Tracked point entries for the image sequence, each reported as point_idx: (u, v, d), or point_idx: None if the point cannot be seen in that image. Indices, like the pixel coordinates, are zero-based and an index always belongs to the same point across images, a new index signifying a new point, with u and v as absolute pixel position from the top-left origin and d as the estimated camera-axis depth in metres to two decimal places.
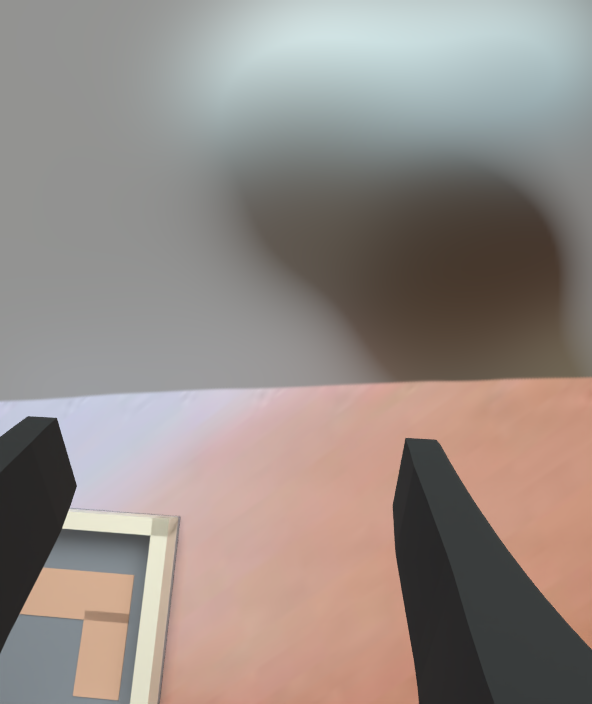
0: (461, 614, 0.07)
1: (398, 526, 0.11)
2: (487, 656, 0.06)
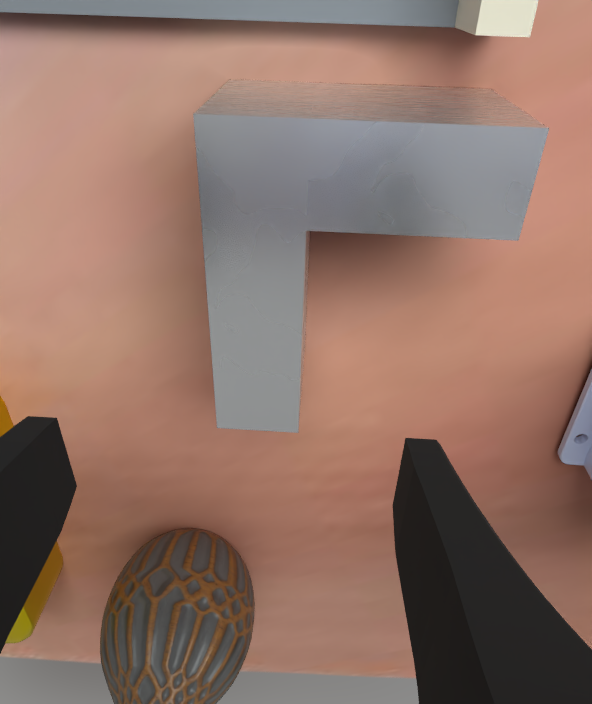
0: (461, 613, 0.07)
1: (398, 526, 0.11)
2: (487, 656, 0.06)
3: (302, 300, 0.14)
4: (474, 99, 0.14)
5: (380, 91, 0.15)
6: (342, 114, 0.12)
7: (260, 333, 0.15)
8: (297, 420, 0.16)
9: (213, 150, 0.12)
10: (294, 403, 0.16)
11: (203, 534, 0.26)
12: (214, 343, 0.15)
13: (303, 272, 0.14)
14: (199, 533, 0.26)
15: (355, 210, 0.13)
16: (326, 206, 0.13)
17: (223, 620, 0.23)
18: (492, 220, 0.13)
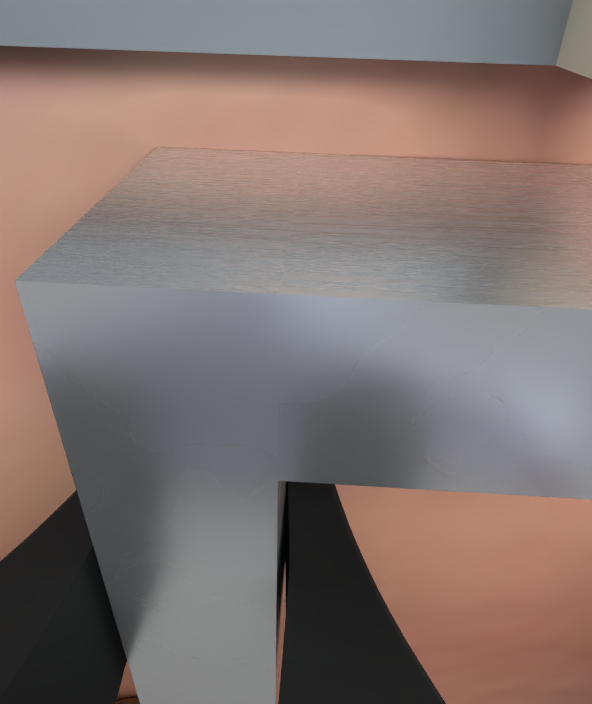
0: (286, 602, 0.07)
1: None
2: (292, 642, 0.06)
3: (275, 573, 0.08)
4: None
5: (417, 178, 0.08)
6: (352, 271, 0.05)
7: (202, 613, 0.08)
8: None
9: (71, 348, 0.06)
10: (267, 691, 0.09)
11: None
12: (122, 622, 0.08)
13: (275, 538, 0.07)
14: None
15: (378, 452, 0.06)
16: (318, 445, 0.06)
17: None
18: None
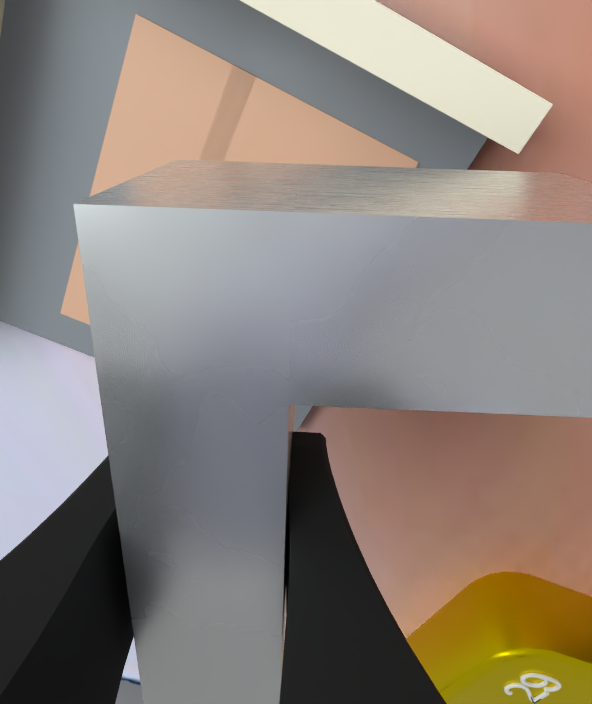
0: (288, 602, 0.07)
1: None
2: (293, 642, 0.06)
3: (284, 515, 0.08)
4: (552, 185, 0.09)
5: (401, 174, 0.10)
6: (352, 205, 0.07)
7: (212, 567, 0.08)
8: (278, 695, 0.10)
9: (114, 268, 0.06)
10: (273, 670, 0.09)
11: None
12: (132, 582, 0.09)
13: (285, 472, 0.08)
14: None
15: (378, 371, 0.07)
16: (325, 364, 0.07)
17: None
18: None
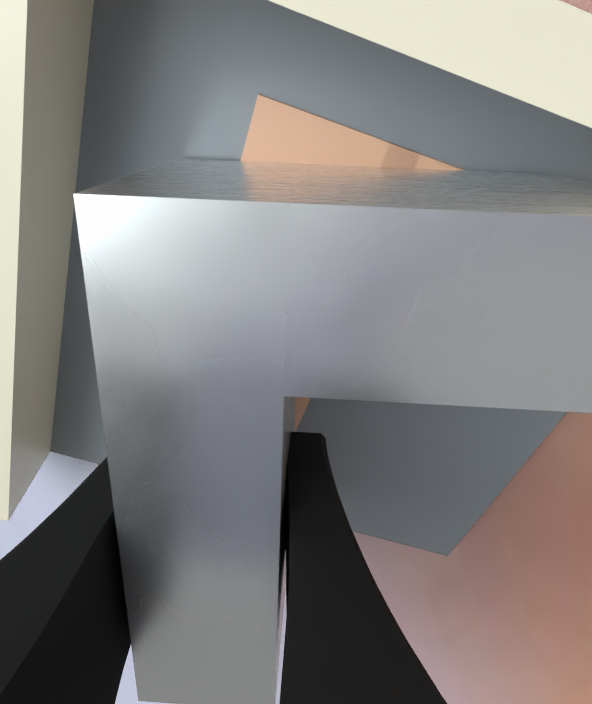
0: (287, 603, 0.07)
1: None
2: (293, 642, 0.06)
3: (279, 508, 0.08)
4: (551, 184, 0.09)
5: (401, 173, 0.10)
6: (348, 198, 0.07)
7: (207, 560, 0.08)
8: (273, 693, 0.10)
9: (113, 258, 0.07)
10: (267, 667, 0.09)
11: None
12: (128, 573, 0.09)
13: (280, 464, 0.08)
14: None
15: (372, 363, 0.07)
16: (320, 355, 0.07)
17: None
18: None
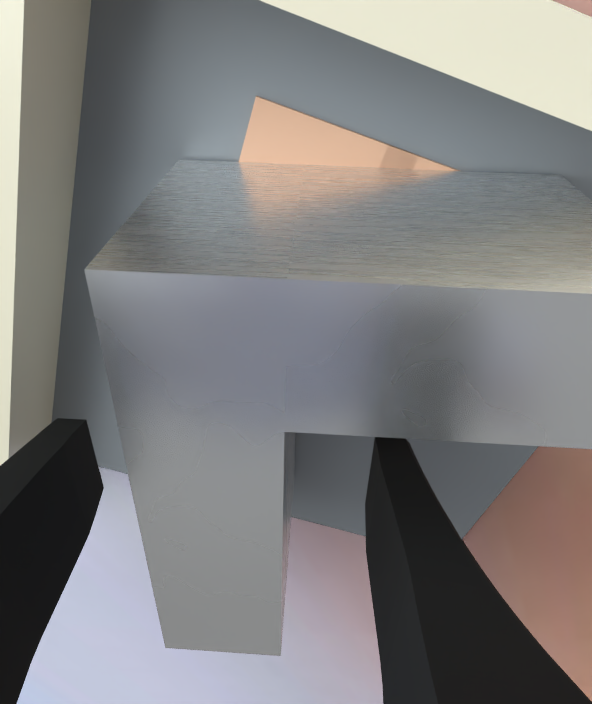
0: (415, 611, 0.07)
1: (368, 524, 0.11)
2: (435, 652, 0.06)
3: (281, 514, 0.09)
4: (546, 205, 0.09)
5: (400, 186, 0.10)
6: (343, 262, 0.07)
7: (220, 551, 0.10)
8: (278, 643, 0.11)
9: (124, 322, 0.07)
10: (274, 626, 0.11)
11: None
12: (152, 560, 0.10)
13: (282, 482, 0.09)
14: None
15: (364, 407, 0.08)
16: (316, 401, 0.08)
17: None
18: (590, 425, 0.08)
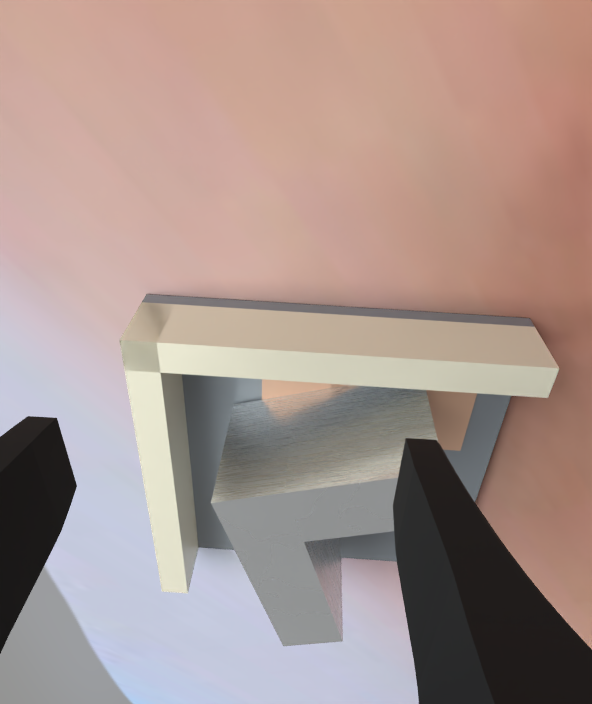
0: (461, 614, 0.07)
1: (398, 526, 0.11)
2: (487, 656, 0.06)
3: (316, 573, 0.20)
4: (404, 407, 0.19)
5: (337, 406, 0.20)
6: (306, 476, 0.18)
7: (294, 594, 0.20)
8: (339, 635, 0.22)
9: (229, 516, 0.18)
10: (333, 626, 0.21)
11: None
12: (264, 603, 0.21)
13: (310, 561, 0.19)
14: None
15: (332, 527, 0.18)
16: (312, 528, 0.18)
17: None
18: None
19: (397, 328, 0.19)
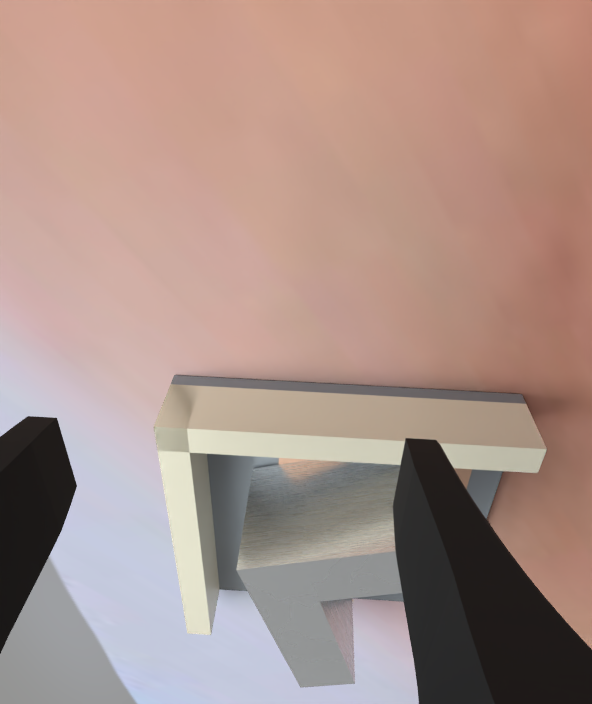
0: (462, 614, 0.07)
1: (398, 526, 0.11)
2: (487, 656, 0.06)
3: (330, 627, 0.22)
4: None
5: (348, 474, 0.22)
6: (321, 546, 0.20)
7: (310, 644, 0.22)
8: (351, 678, 0.24)
9: (252, 580, 0.20)
10: (346, 670, 0.24)
11: None
12: (283, 652, 0.23)
13: (325, 617, 0.21)
14: None
15: (345, 589, 0.20)
16: (327, 590, 0.20)
17: None
18: None
19: (401, 408, 0.21)
